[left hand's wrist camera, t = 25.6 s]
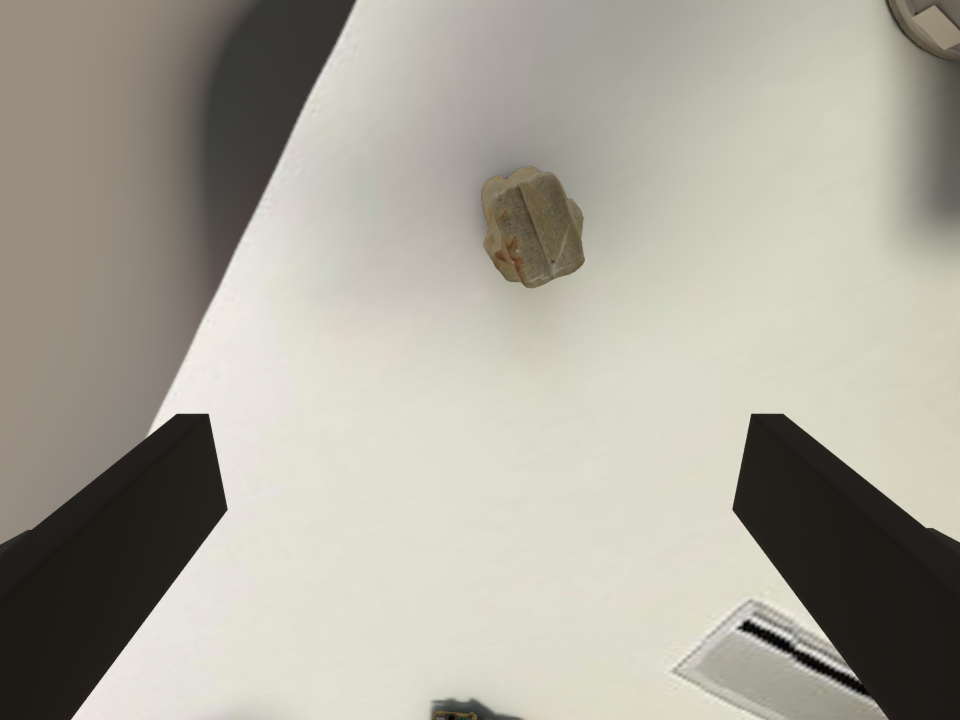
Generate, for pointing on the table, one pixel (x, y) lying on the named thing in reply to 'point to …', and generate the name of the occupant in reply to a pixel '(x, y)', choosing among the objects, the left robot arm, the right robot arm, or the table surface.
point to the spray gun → (454, 715)
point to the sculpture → (532, 227)
